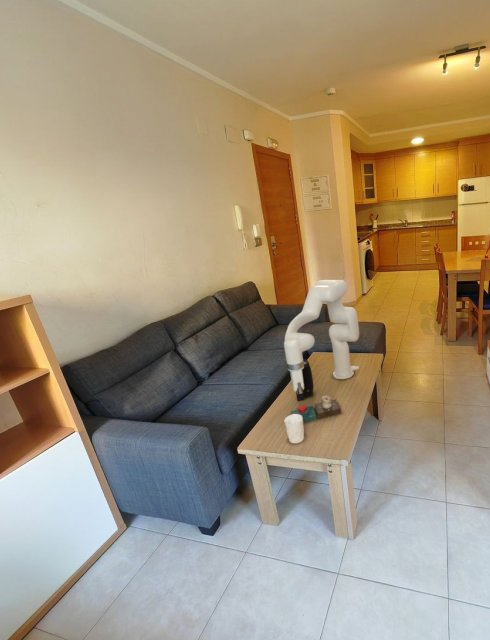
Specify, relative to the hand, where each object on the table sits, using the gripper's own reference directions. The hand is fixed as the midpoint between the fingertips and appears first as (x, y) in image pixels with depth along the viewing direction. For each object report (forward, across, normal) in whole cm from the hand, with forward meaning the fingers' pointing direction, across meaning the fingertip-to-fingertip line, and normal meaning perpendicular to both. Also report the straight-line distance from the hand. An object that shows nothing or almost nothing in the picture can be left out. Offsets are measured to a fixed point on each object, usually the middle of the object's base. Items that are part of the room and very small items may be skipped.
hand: (300, 400), depth 161 cm
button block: (+10, 0, 0) cm, 10 cm away
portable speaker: (+10, -20, +5) cm, 23 cm away
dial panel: (+10, 0, +12) cm, 16 cm away
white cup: (+10, +15, -5) cm, 19 cm away
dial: (+7, 0, +12) cm, 14 cm away
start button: (+6, 0, 0) cm, 6 cm away
